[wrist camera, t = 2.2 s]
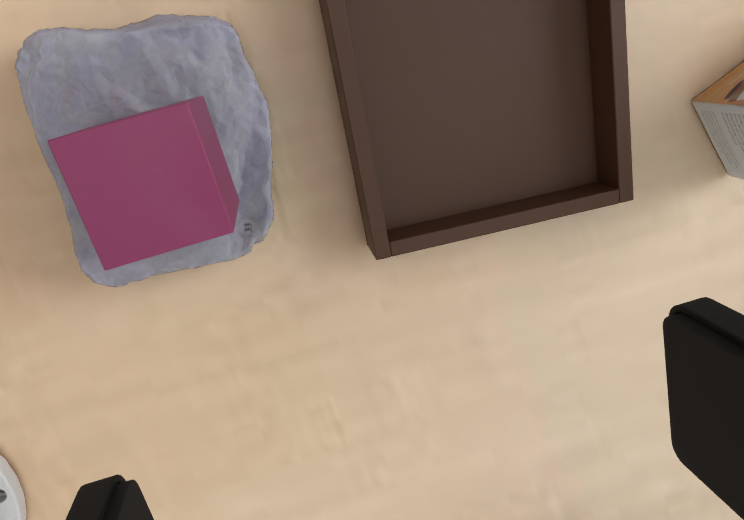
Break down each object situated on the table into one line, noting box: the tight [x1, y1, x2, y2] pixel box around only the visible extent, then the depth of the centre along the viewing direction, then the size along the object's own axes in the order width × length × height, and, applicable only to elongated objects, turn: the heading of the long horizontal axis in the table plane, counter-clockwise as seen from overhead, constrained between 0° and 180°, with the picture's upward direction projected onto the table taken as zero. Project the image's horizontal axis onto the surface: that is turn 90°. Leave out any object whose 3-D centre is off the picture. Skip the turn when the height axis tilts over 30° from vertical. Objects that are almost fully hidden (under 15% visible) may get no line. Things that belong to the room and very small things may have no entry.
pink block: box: [48, 96, 240, 270], centre depth 23 cm, size 5×5×6 cm
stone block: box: [15, 14, 274, 287], centre depth 28 cm, size 12×5×10 cm
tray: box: [319, 0, 633, 260], centre depth 30 cm, size 14×17×3 cm
